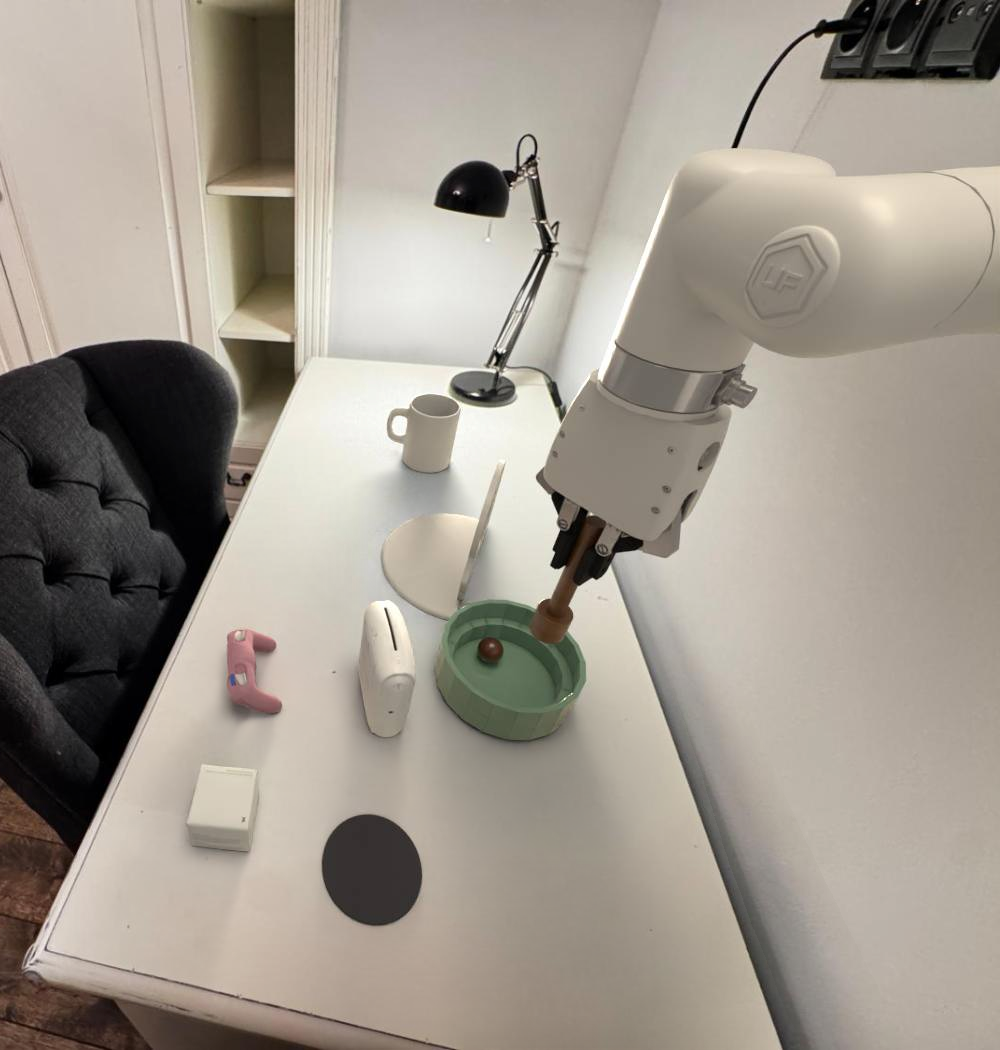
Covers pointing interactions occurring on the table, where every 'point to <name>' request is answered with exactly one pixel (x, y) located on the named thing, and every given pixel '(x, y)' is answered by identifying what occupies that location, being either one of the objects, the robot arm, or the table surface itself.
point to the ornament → (437, 556)
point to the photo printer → (386, 669)
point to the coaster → (372, 869)
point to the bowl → (507, 672)
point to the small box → (223, 808)
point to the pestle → (564, 588)
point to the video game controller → (248, 670)
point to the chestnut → (490, 650)
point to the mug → (427, 431)
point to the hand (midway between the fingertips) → (574, 568)
